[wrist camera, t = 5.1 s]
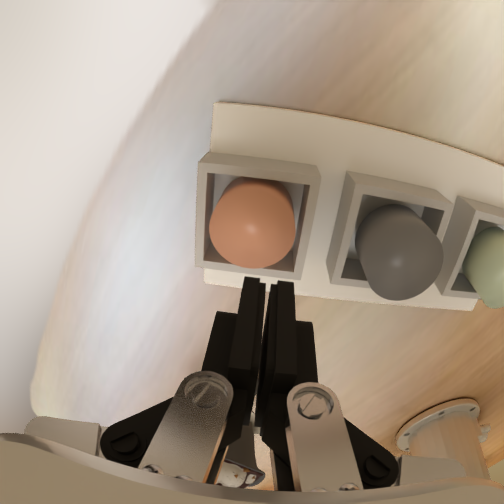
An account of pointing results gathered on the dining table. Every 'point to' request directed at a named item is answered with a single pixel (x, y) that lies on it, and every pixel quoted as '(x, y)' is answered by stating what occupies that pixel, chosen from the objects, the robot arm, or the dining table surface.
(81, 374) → the dining table surface
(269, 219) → the terracotta button
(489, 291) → the sage button
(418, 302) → the panel
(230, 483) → the sundae
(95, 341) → the dining table surface
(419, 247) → the charcoal button
